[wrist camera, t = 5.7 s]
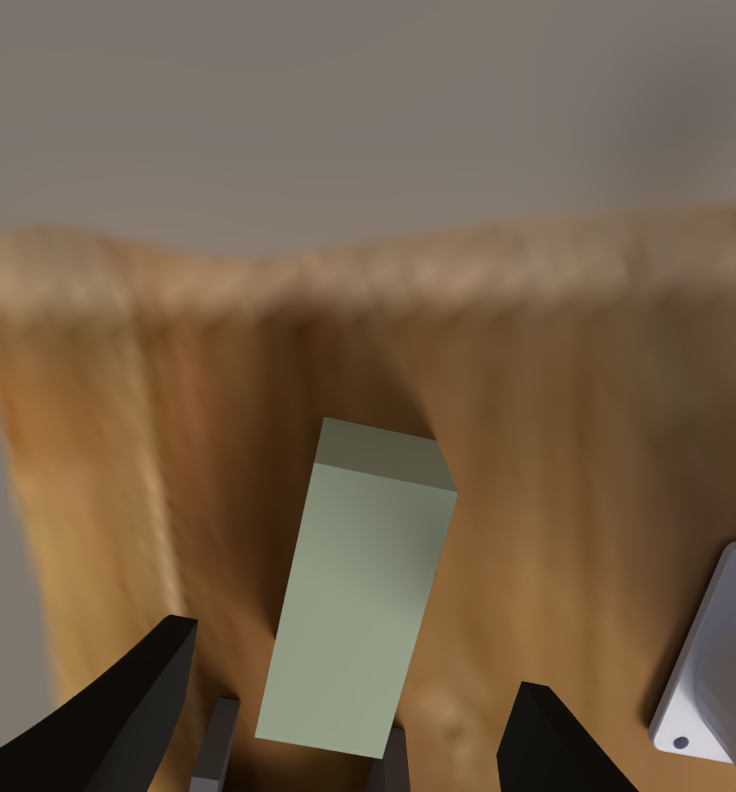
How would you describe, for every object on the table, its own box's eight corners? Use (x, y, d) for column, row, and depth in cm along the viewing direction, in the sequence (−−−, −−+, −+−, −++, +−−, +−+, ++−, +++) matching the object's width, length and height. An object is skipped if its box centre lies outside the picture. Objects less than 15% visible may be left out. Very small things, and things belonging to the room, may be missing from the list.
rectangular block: (377, 656, 19) (381, 759, 15) (276, 637, 19) (254, 736, 15) (436, 438, 17) (458, 492, 13) (324, 415, 17) (314, 462, 13)
